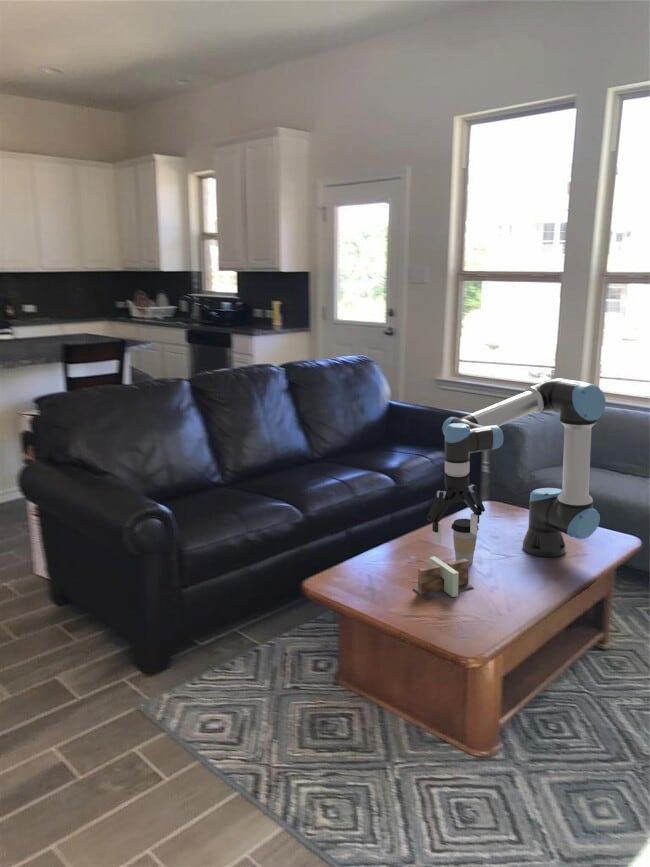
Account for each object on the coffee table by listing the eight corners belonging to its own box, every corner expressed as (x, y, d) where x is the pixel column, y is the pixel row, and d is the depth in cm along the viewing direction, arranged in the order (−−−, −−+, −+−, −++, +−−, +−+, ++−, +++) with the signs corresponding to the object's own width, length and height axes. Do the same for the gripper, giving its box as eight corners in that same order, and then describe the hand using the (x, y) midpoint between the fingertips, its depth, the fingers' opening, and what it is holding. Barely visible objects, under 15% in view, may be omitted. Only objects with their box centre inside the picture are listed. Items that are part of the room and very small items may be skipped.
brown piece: (459, 578, 234) (460, 555, 232) (473, 588, 227) (474, 564, 225) (413, 589, 227) (413, 565, 225) (426, 599, 220) (426, 574, 218)
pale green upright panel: (429, 579, 232) (429, 557, 230) (434, 578, 233) (434, 556, 231) (452, 597, 220) (453, 573, 218) (457, 595, 221) (458, 572, 219)
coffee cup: (477, 568, 241) (478, 528, 238) (450, 566, 243) (451, 526, 240) (477, 557, 250) (478, 518, 247) (450, 555, 252) (451, 517, 249)
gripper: (482, 464, 223) (481, 526, 228) (415, 476, 213) (415, 540, 218) (497, 470, 216) (495, 534, 221) (429, 482, 207) (428, 548, 212)
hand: (455, 537), depth 220 cm, fingers open, 13 cm apart
